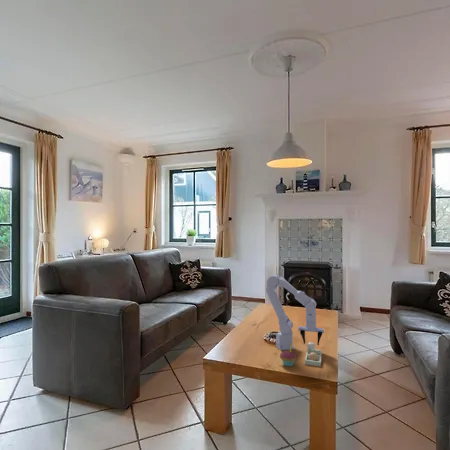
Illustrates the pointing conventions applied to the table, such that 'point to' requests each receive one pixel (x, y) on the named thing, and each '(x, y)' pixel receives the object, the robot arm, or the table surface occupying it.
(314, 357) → the brown egg
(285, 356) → the cupcake
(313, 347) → the white egg
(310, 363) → the carton
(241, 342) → the table surface
